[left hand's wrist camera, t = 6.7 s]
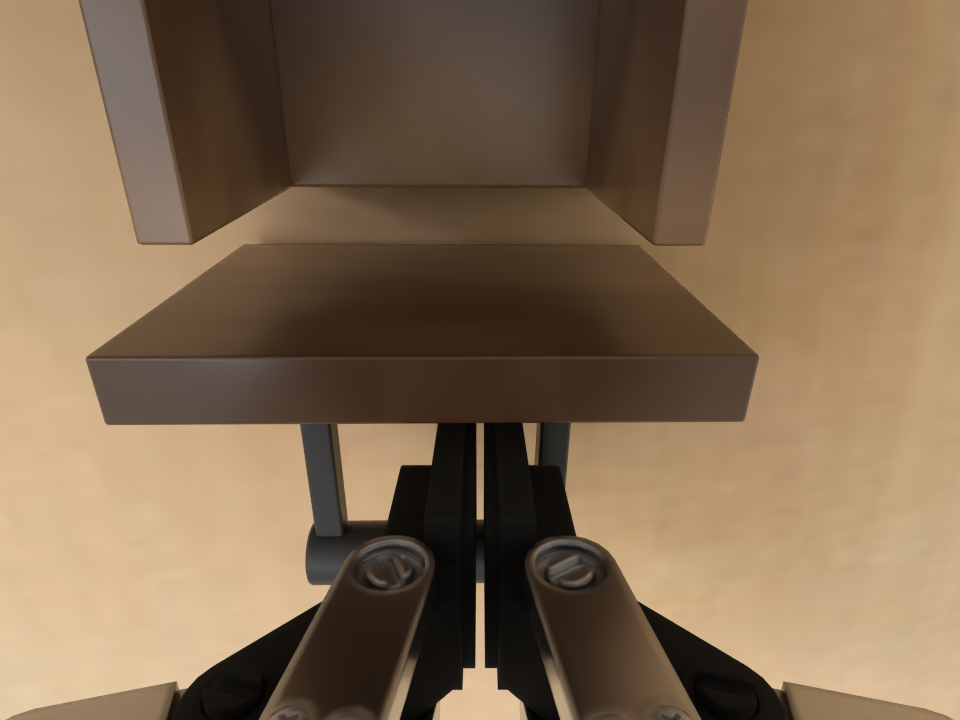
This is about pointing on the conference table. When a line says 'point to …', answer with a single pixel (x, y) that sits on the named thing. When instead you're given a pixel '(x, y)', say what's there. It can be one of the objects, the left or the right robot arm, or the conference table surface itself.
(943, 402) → the conference table surface
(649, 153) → the drawer
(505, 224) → the conference table surface
